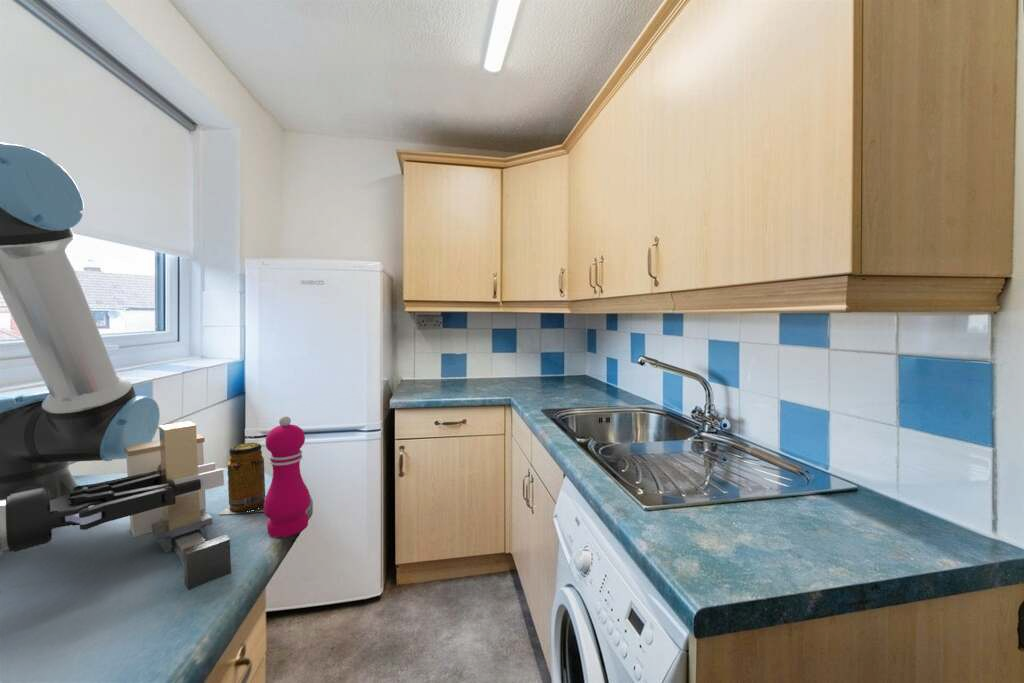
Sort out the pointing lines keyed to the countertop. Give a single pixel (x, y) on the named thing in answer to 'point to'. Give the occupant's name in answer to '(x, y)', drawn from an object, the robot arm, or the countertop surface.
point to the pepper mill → (286, 481)
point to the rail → (202, 557)
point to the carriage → (176, 464)
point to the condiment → (246, 479)
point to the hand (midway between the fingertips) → (218, 473)
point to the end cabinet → (149, 460)
